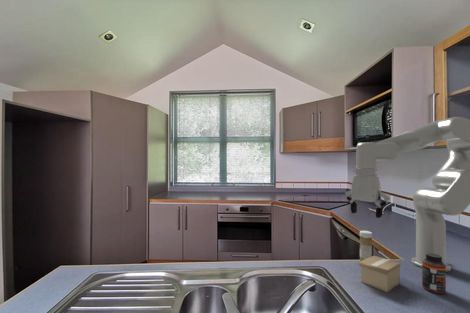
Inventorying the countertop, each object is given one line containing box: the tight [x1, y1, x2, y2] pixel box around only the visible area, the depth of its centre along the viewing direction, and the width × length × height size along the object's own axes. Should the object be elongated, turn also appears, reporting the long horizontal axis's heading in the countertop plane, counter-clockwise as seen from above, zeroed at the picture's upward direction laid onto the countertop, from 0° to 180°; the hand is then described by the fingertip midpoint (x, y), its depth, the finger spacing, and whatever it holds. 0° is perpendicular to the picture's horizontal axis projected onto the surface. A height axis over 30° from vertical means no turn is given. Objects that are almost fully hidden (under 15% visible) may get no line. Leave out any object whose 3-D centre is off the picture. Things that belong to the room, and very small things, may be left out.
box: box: [360, 266, 401, 293], centre depth 82 cm, size 10×8×6 cm
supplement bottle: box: [421, 253, 447, 295], centre depth 79 cm, size 6×6×11 cm
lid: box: [358, 255, 401, 275], centre depth 82 cm, size 12×8×1 cm
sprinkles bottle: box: [359, 230, 373, 261], centre depth 97 cm, size 5×5×14 cm
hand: (365, 215), depth 97 cm, fingers open, 9 cm apart
